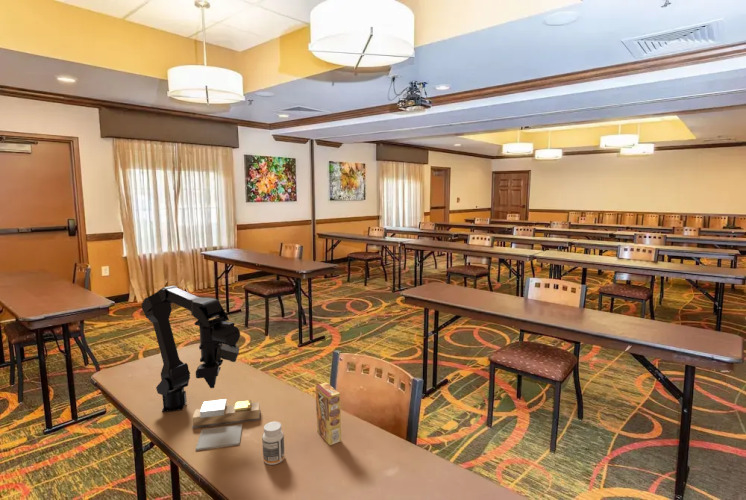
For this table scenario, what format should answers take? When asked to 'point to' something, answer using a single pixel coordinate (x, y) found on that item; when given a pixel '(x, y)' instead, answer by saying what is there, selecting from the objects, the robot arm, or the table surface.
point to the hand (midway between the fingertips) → (212, 386)
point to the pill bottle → (273, 443)
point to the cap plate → (213, 408)
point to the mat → (219, 437)
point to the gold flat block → (243, 405)
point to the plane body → (227, 416)
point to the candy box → (328, 413)
